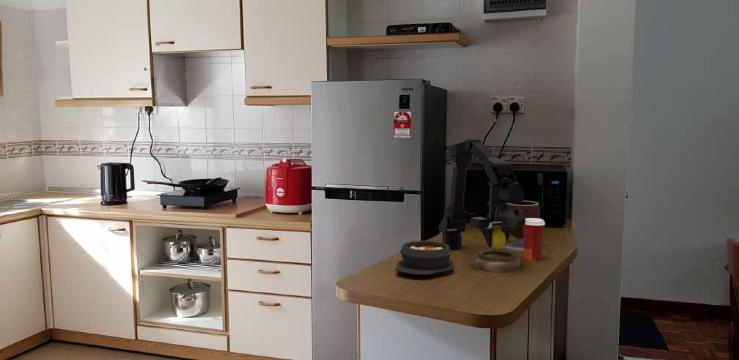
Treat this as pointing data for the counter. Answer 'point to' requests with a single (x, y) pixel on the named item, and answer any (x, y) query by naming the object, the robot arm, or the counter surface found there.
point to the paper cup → (533, 238)
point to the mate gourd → (528, 211)
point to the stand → (496, 261)
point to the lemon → (498, 240)
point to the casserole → (425, 258)
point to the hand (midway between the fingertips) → (497, 246)
